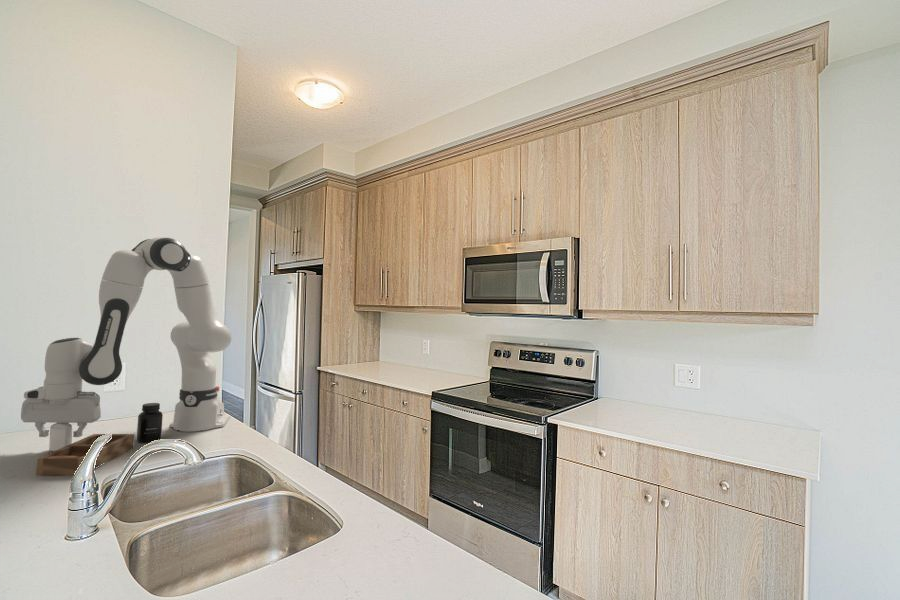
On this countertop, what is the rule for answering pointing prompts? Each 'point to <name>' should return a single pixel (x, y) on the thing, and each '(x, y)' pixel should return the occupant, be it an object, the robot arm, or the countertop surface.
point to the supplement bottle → (149, 423)
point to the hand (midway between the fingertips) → (60, 436)
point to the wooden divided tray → (82, 454)
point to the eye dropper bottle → (60, 436)
